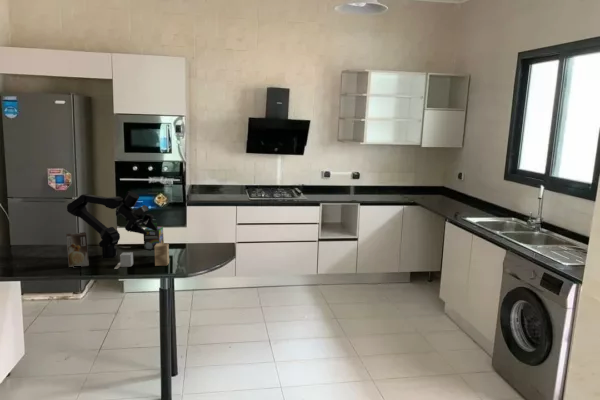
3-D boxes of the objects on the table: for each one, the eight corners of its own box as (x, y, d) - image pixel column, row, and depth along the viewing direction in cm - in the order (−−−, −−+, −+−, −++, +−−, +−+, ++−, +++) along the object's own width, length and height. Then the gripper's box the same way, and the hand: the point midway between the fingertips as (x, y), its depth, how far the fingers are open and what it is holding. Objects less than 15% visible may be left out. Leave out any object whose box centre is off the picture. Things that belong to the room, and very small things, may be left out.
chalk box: (164, 245, 279) (163, 220, 277) (160, 249, 270) (159, 224, 268) (148, 245, 279) (147, 220, 277) (143, 249, 270) (142, 224, 268)
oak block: (155, 265, 238) (154, 246, 237) (157, 262, 244) (156, 243, 243) (167, 265, 239) (166, 246, 237) (169, 262, 245) (168, 243, 243)
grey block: (120, 266, 236) (120, 255, 235) (122, 264, 241) (122, 252, 240) (131, 266, 236) (130, 255, 235) (133, 263, 241) (132, 252, 240)
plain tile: (113, 269, 233) (113, 268, 233) (119, 263, 243) (119, 262, 243) (135, 268, 234) (135, 268, 234) (139, 262, 244) (139, 262, 244)
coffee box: (88, 262, 243) (86, 231, 241) (89, 265, 238) (87, 234, 235) (68, 264, 239) (66, 233, 237) (68, 268, 234) (66, 236, 231)
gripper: (125, 204, 236) (148, 223, 234) (146, 198, 254) (168, 216, 252) (115, 221, 239) (138, 240, 237) (137, 215, 257) (159, 232, 255)
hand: (151, 232), depth 245 cm, fingers open, 9 cm apart
